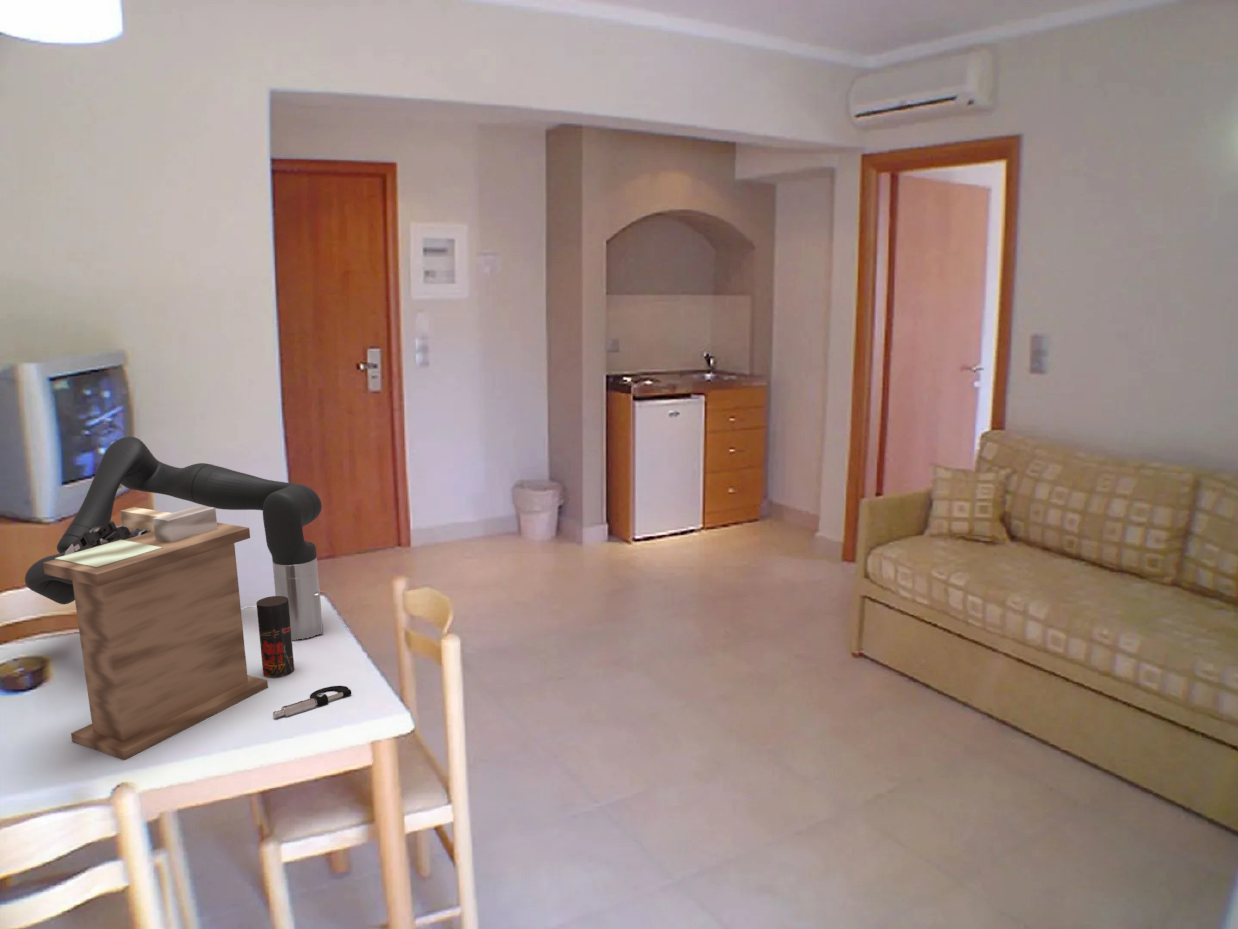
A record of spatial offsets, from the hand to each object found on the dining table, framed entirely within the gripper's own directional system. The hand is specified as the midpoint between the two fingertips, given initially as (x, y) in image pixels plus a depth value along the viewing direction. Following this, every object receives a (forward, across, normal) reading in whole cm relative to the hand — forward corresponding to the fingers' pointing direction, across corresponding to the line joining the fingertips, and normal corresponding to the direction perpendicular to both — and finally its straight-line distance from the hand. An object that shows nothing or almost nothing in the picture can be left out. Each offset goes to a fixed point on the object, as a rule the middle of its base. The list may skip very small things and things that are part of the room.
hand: (134, 520), depth 173 cm
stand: (-4, -7, +36) cm, 37 cm away
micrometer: (+12, +7, +46) cm, 48 cm away
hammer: (+6, 0, +5) cm, 7 cm away
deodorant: (-1, +14, +38) cm, 41 cm away
